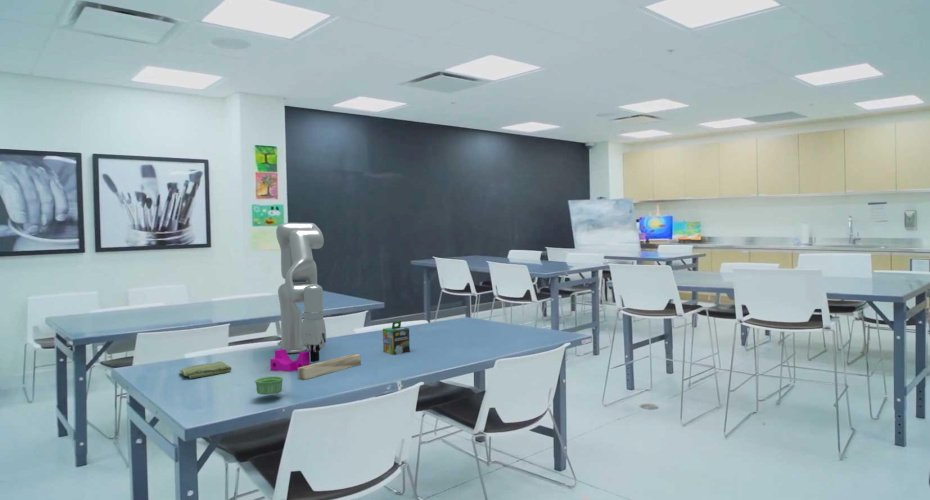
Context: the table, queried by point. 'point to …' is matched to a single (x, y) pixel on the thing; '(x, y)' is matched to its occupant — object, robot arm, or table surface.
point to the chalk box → (396, 339)
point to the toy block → (288, 361)
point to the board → (328, 366)
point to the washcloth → (205, 369)
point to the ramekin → (269, 385)
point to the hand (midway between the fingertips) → (314, 361)
